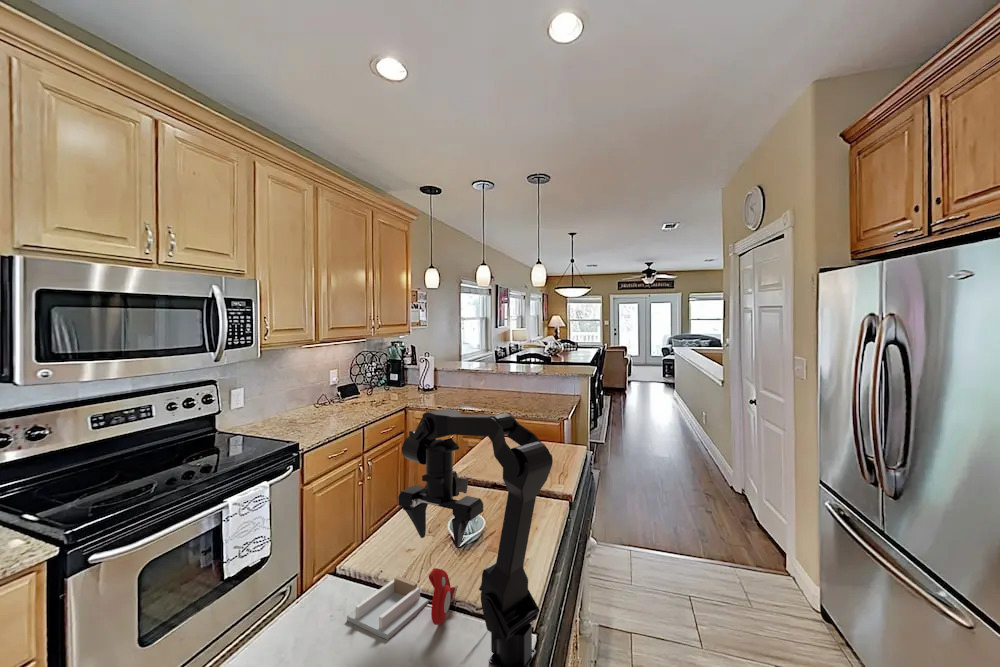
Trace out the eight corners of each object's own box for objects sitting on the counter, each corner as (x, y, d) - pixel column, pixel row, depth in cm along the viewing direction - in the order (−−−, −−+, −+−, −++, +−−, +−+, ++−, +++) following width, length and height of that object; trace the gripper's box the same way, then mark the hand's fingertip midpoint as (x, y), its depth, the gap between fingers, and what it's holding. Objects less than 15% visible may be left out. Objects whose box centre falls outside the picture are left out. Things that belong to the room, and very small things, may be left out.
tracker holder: (441, 638, 81) (440, 585, 81) (419, 634, 82) (418, 582, 82) (461, 599, 93) (461, 553, 93) (442, 596, 94) (442, 550, 94)
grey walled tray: (428, 604, 91) (428, 585, 91) (387, 639, 80) (387, 618, 80) (389, 589, 96) (389, 571, 96) (346, 620, 86) (346, 600, 86)
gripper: (495, 464, 94) (496, 535, 94) (427, 454, 103) (428, 519, 103) (468, 479, 84) (469, 559, 84) (396, 466, 93) (396, 538, 93)
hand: (440, 541), depth 92 cm, fingers open, 9 cm apart
